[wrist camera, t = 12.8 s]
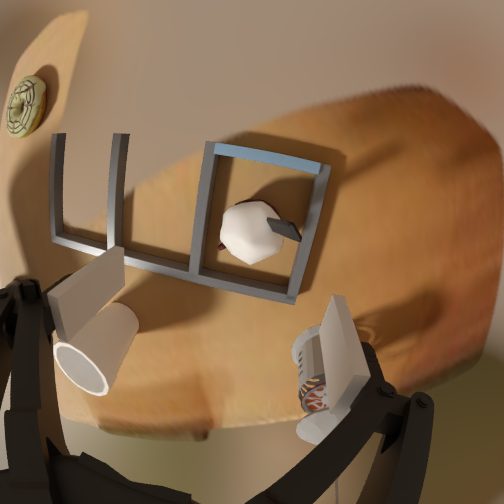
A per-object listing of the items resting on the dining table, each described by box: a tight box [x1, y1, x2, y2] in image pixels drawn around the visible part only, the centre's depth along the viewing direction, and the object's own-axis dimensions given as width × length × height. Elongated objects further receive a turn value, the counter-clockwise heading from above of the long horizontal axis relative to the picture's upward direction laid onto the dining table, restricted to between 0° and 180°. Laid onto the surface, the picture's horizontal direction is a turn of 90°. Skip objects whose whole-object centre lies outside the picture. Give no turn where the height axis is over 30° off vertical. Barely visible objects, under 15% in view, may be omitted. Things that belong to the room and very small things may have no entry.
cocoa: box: [218, 199, 302, 265], centre depth 26 cm, size 10×6×12 cm, turn 100°
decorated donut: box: [6, 75, 47, 138], centre depth 27 cm, size 10×11×4 cm
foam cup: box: [53, 303, 139, 396], centre depth 34 cm, size 10×9×13 cm
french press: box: [292, 324, 350, 504], centre depth 25 cm, size 10×12×25 cm
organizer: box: [49, 133, 331, 305], centre depth 31 cm, size 37×17×2 cm, turn 80°
